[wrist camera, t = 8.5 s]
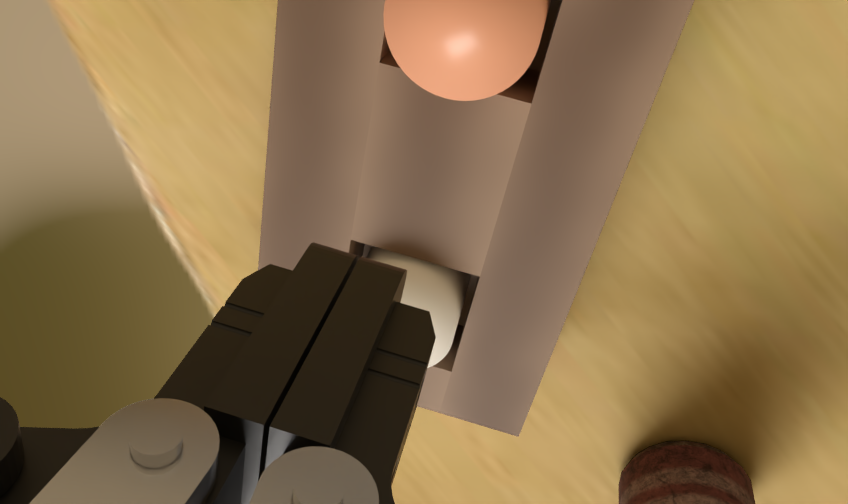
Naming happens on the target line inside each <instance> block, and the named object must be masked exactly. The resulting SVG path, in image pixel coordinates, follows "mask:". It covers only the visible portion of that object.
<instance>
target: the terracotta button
mask: <svg viewBox="0 0 848 504" xmlns="http://www.w3.org/2000/svg"><path fill="white" fill-rule="evenodd" d="M550 2H551V0H385V4H384V14H383V18H384V30H385V36H386V39H387V43H388V46H389V48H390V51H391V53H392V55H393V57H394V59H395V60H396V62H397V64H398V65H399V66H400V68H401V69H402V71H403V72H404V73H405V74H406V75H407V76H408V77H409V78H410V79H411V80H412V81H413V82H415V83H416V84H417V85H418V86H420V87H421V88H423V89H425V90H426V91H428V92H430V93H432V94H434V95H437V96H440V97H443V98H446V99H451V100H458V101H474V100H480V99H485V98H488V97H491V96H494V95H496V94H498V93H500V92H502V91H504V90H505V89H507V88H509V87H510V86H511V85H513V84H514V83H515V82H516V81H517V80H518V79H519V78H520V77H521V76H522V75H523V74H524V73H525V72H526V70H527V69H528V67H529V66H530V65H531V63H532V61H533V59H534V57H535V55H536V52H537V50H538V47H539V44H540V40H541V36H542V32H543V29H544V25H545V21H546V18H547V14H548V10H549V6H550Z"/></svg>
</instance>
